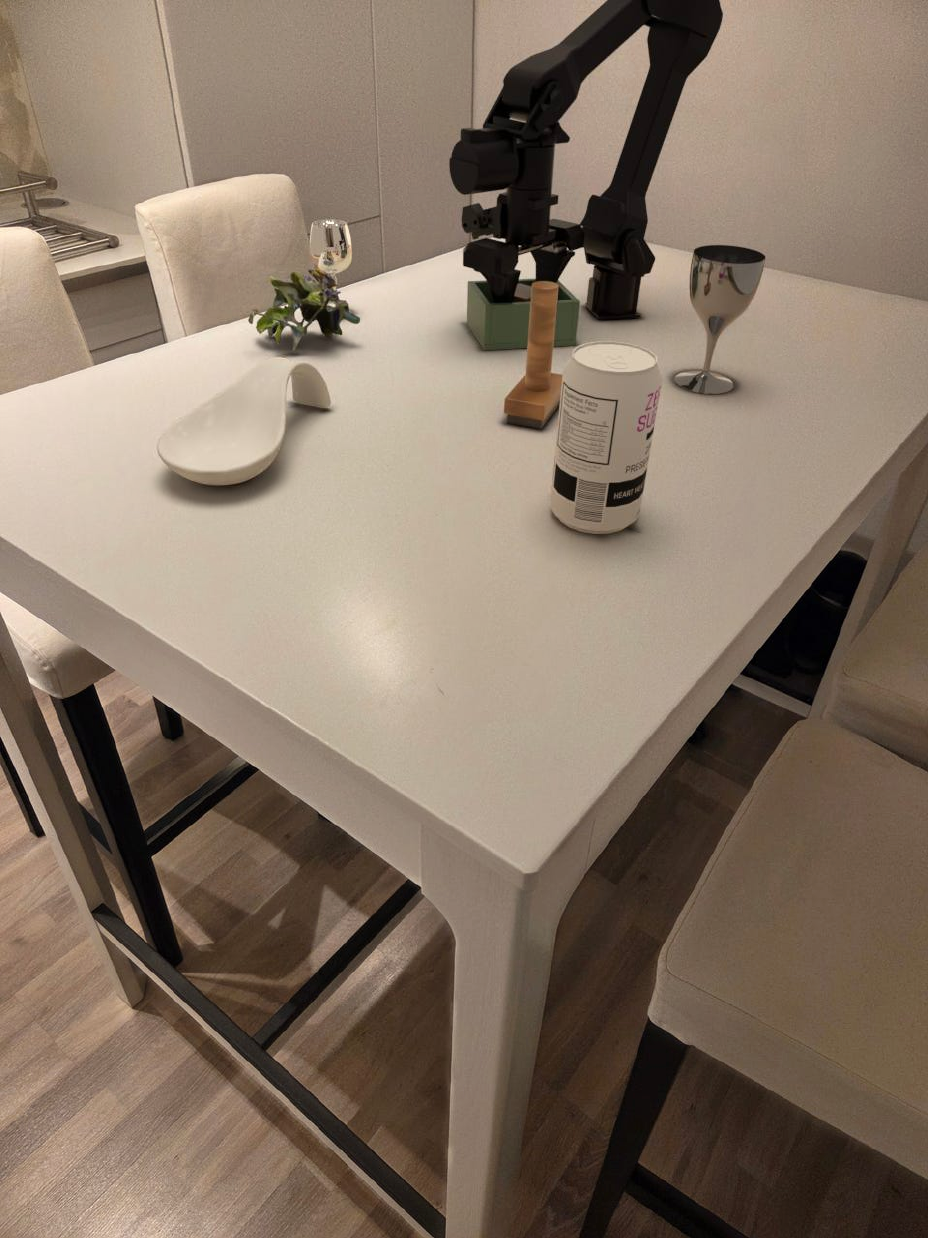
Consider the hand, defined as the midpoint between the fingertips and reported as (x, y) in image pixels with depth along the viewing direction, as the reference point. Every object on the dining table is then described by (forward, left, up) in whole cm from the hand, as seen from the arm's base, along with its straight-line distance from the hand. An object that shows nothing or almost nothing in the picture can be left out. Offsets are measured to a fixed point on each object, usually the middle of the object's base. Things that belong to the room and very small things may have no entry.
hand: (521, 312), depth 116 cm
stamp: (+5, +25, -3) cm, 26 cm away
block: (0, 0, -2) cm, 2 cm away
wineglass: (+24, -12, -3) cm, 27 cm away
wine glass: (-18, +20, -3) cm, 27 cm away
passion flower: (+29, 0, -3) cm, 29 cm away
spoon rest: (+36, +29, -3) cm, 46 cm away
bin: (0, 0, -3) cm, 3 cm away
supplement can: (+6, +48, -3) cm, 49 cm away
